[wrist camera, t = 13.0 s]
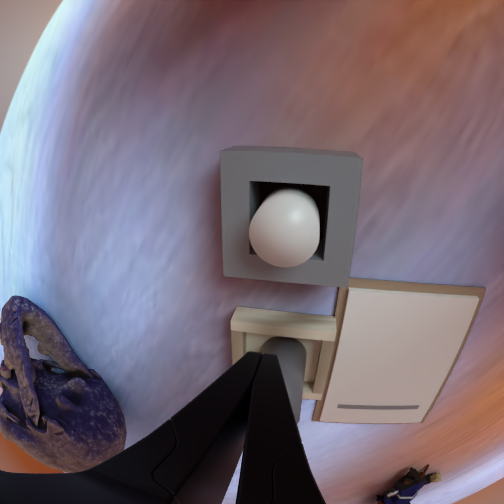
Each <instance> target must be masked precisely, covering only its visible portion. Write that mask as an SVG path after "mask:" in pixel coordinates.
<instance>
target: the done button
mask: <svg viewBox="0 0 504 504" xmlns="http://www.w3.org/2000/svg"><path fill="white" fill-rule="evenodd" d="M319 236H320V224H319V209H318V206H317V204H316V202H315V200H314V199H313V198H312V197H311V196H310V195H309V194H308V193H307V192H305V191H304V190H301V189H299V188H295V187H283V188H279V189H277V190H275V191H273V192H271V193H270V194H269V195H268V196H267V197H266V199H265V200H264V201H263V203H262V204H261V206H260V207H259V209H258V210H257V212H256V213H255V215H254V217H253V218H252V220H251V223H250V227H249V238H250V242H251V245H252V247H253V249H254V251H255V252H256V253H257V255H258V256H259V257H260V258H261V259H263V260H264V261H265V262H267V263H269V264H271V265H274V266H278V267H294V266H297V265H300V264H302V263H304V262H305V261H307V260H308V259H309V258H310V257H311V256H312V255H313V254H314V252H315V251H316V249H317V247H318V243H319Z"/></svg>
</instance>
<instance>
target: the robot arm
mask: <svg viewBox="0 0 504 504" xmlns="http://www.w3.org/2000/svg"><path fill="white" fill-rule="evenodd" d="M243 448H244V449H243ZM242 451H243V456H242V463H241V470H240V477H239V484H238V491H237V498H236V504H326V503H325V501H324V499H323V496H322V494H321V492H320V490H319V488H318V486H317V484H316V481H315V479H314V477H313V474H312V472H311V469H310V466H309V463H308V460H307V457H306V454H305V451H304V447H303V444H302V441H301V437H300V434H299V430H298V426H297V423H296V419H295V416H294V412H293V409H292V405H291V401H290V398H289V394H288V391H287V387H286V383H285V380H284V376H283V373H282V369H281V366H280V362H279V358H278V356H277V355H276V354H270V353H264V354H262V353H261V352H253V351H249V352H247V353H246V354H245V355H244V356H242V357H241V358H240V359H239V360H238V361H237V362H236V363H235V364H233V365H232V366H231V367H230V368H229V369H228V370H227V371H226V372H224V373H223V374H222V375H221V376H220V377H219V378H218V379H216V380H215V381H214V382H213V383H212V384H211V385H209V386H208V387H207V388H206V389H205V390H204V391H202V392H201V393H200V394H199V395H198V396H197V397H195V398H194V399H193V400H192V401H191V402H189V403H188V404H187V405H186V406H185V407H183V408H182V409H181V410H180V411H178V412H177V413H176V414H175V415H174V416H172V417H171V420H170V419H169V420H167V421H166V422H165V423H163V424H162V425H161V426H160V427H158V428H157V429H156V430H154V431H153V432H152V433H150V434H149V435H148V436H146V437H145V438H143V439H142V440H140V441H138V442H137V443H135V444H134V445H132V446H130V447H129V448H127V449H125V450H123V451H122V452H120V453H118V454H116V455H115V456H113V457H111V458H109V459H107V460H106V461H104V462H102V463H100V464H98V465H96V466H94V467H92V468H90V469H87V470H84V471H80V472H75V473H54V474H34V473H31V474H30V473H11V472H5V471H1V470H0V504H222V501H223V499H224V496H225V494H226V492H227V489H228V487H229V484H230V482H231V479H232V477H233V474H234V472H235V469H236V467H237V464H238V461H239V459H240V456H241V454H242Z"/></svg>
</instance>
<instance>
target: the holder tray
mask: <svg viewBox="0 0 504 504" xmlns="http://www.w3.org/2000/svg"><path fill="white" fill-rule="evenodd" d="M336 332H337V331H336V318H335V316H327V315H315V314H304V313H294V312H284V311H274V310H265V309H256V308H247V307H239V306H237V307H236V310H235V312H234V314H233V317H232V319H231V342H232V365H233V364H235V363H236V362H237V361H238V360H239V359H240V358H241V357H242V356H244V355H245V354H246V353H247V352H249V351H253V352H261V348H262V346H263V344H264V343H265V342H266V341H267V340H268V339H270V338H272V337H275V336H282V337H292V338H295V339H297V340H298V341H300V342H301V343H302V344H303V345H304V347H305V348H306V352H307V357H306V367H305V377H304V386H303V395H302V399H312V400H322V396H323V391H324V387H325V383H326V379H327V375H328V370H329V366H330V361H331V357H332V352H333V347H334V342H335V337H336Z"/></svg>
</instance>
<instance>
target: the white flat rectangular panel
mask: <svg viewBox="0 0 504 504" xmlns="http://www.w3.org/2000/svg"><path fill="white" fill-rule="evenodd" d="M485 291H486V288H485V287H470V286H455V285H441V284H427V283H413V282H400V281H387V280H374V279H362V278H349V282H348V288H344V287H339V292H338V298H337V304H336V310H335V318H336V331H337V332H336V337H335V342H334V347H333V352H332V357H331V361H330V366H329V370H328V375H327V379H326V383H325V387H324V391H323V396H322V400H317V403H316V408H315V412H314V416H313V421H318V422H334V423H357V424H403V423H423V422H424V420H425V418H426V417H427V415H428V413H429V412H430V410H431V408H432V407H433V405H434V403H435V401H436V400H437V398H438V396H439V394H440V392H441V391H442V389H443V387H444V385H445V383H446V381H447V379H448V377H449V376H450V374H451V372H452V370H453V368H454V366H455V364H456V361H457V359H458V357H459V355H460V353H461V351H462V349H463V346H464V344H465V342H466V340H467V337H468V335H469V333H470V330H471V328H472V325H473V323H474V320H475V318H476V315H477V313H478V310H479V307H480V305H481V302H482V299H483V296H484V294H485Z"/></svg>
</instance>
